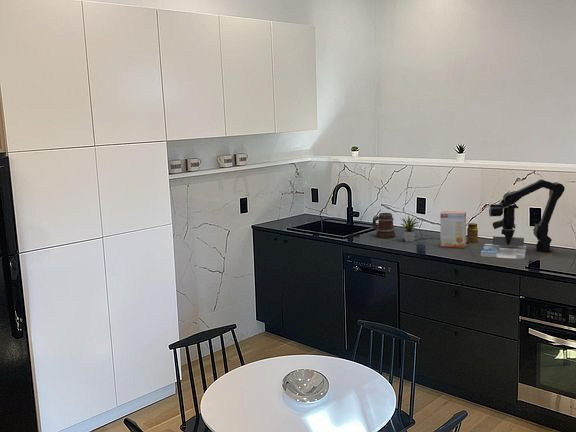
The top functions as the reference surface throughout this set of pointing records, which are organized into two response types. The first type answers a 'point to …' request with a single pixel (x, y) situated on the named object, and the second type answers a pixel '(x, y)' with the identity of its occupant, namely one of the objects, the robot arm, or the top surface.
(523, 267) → the top surface
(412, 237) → the house plant
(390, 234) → the mug
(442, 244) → the cracker box
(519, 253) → the white plate with bars
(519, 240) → the long grey beam
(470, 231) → the condiment
